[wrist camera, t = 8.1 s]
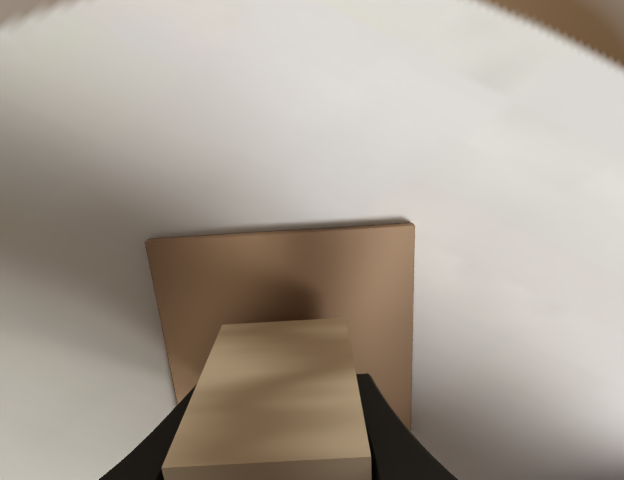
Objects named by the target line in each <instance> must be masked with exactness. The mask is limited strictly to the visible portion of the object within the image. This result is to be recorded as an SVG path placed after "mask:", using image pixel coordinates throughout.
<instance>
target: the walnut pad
mask: <svg viewBox="0 0 624 480" xmlns="http://www.w3.org/2000/svg"><path fill="white" fill-rule="evenodd" d="M145 244H146V249H147V254H148V259H149V264H150V269H151V274H152V279H153V284H154V289H155V294H156V299H157V304H158V309H159V314H160V319H161V324H162V329H163V334H164V339H165V344H166V349H167V354H168V359H169V364H170V369H171V374H172V379H173V384H174V389H175V394H176V399H177V404H179V403H180V402H181V401H182V399H183V398H184V397H185V396H186V395H187V394H188V393H189V392H190V391H191V390H192V389H193V387H194V386H195V385H196V384H197V383H198V381H199V378H200V376H201V373H202V371H203V369H204V366H205V364H206V362H207V359H208V357H209V355H210V352H211V350H212V348H213V345H214V343H215V340H216V338H217V336H218V333H219V331H220V329H221V326H222V325H226V324H243V323H260V322H278V321H295V320H313V319H330V318H346V323H347V328H348V334H349V339H350V345H351V350H352V355H353V361H354V366H355V372H356V374H365V373H368V374H369V375H371V376H372V378H373V380H374V382H375V384H376V386H377V387H378V389H379V390H380V392H381V394H382V395H383V397H384V398H385V400H386V401H387V402H388V404H389V405H390V407H391V408H392V409H393V411H394V412H395V413H396V415H397V416H398V417H399V419H400V420H401V421H402V422H403V424H404V425H405V426H406V427H407V429H408V430H409V431H410V432H411V388H412V341H413V294H414V248H415V225H414V224H413V223H404V224H387V225H371V226H354V227H338V228H321V229H304V230H288V231H271V232H254V233H238V234H221V235H204V236H188V237H171V238H155V239H148V240H147V241H146V242H145Z"/></svg>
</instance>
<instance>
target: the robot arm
mask: <svg viewBox="0 0 624 480" xmlns="http://www.w3.org/2000/svg"><path fill="white" fill-rule="evenodd" d="M356 377H357V382H358V388H359V393H360V399H361V404H362V409H363V415H364V420H365V426H366V431H367V437H368V442H369V447H370V453H371V472H372V480H458V479H457V478H456V477H454V476H453V475H452V474H451V473H450V472H449V471H448V470H447V469H446V468H444V467H443V466H442V465H441V464H440V463H439V462H438V461H437V460H436V459H435V458H434V457H433V456H432V455H431V454H430V453H429V452H428V451H427V450H426V449H425V448H424V447H423V446H422V445H421V444H420V442H419V441H418V440H417V439H416V438H415V437H414V436H413V434H412V433H411V432H410V431H409V430H408V429H407V427H406V426H405V425H404V424H403V422H402V421H401V420H400V419H399V417H398V416H397V415H396V413H395V412H394V411H393V409H392V408H391V407H390V405H389V404H388V402H387V401H386V400H385V398H384V397H383V395H382V394H381V392H380V390H379V389H378V387H377V386H376V384H375V382H374V380H373V378H372V376H371V375H369V374H368V373H365V374H356ZM196 385H197V384H196ZM196 385H195V386H194V387H193V389H192V390H191V391H190V392H189V393H188V394H187V395H186V396H185V397H184V398H183V399H182V401H181V402H180V403H179V404H178V405H177V406H176V407H175V408H174V409H173V410H172V412H171V413H170V414H169V415H168V416H167V417H166V418H165V419H164V420H163V421H162V422H161V423H160V424H159V425H158V426H157V427H156V428H155V429H154V431H153V432H151V433H150V434H149V435H148V436H147V437H146V438H145V439H144V440H143V441H142V442H141V443H140V444H139V445H138V446H137V447H136V448H135V449H134V450H133V451H132V452H131V453H130V454H129V455H127V456H126V457H125V458H124V459H123V460H122V461H121V462H119V463H118V464H117V465H116V466H115V467H113V468H112V469H111V470H110V471H109V472H107V473H106V474H105V475H104V476H103V477H101V478H100V479H99V480H164V477H163V473H162V465H163V463H164V461H165V458H166V456H167V454H168V451H169V449H170V446H171V444H172V442H173V439H174V437H175V435H176V432H177V430H178V428H179V425H180V423H181V421H182V418H183V416H184V413H185V411H186V409H187V406H188V404H189V402H190V399H191V397H192V395H193V392H194V390H195V388H196Z"/></svg>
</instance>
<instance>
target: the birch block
mask: <svg viewBox="0 0 624 480" xmlns="http://www.w3.org/2000/svg"><path fill="white" fill-rule="evenodd" d="M162 473H163V477H164V480H372V472H371V453H370V447H369V442H368V437H367V431H366V426H365V420H364V415H363V409H362V404H361V399H360V393H359V388H358V382H357V377H356V372H355V366H354V361H353V355H352V350H351V345H350V339H349V334H348V328H347V323H346V318H330V319H313V320H295V321H278V322H260V323H243V324H226V325H222V326H221V329H220V331H219V333H218V336H217V338H216V340H215V343H214V345H213V348H212V350H211V352H210V355H209V357H208V359H207V362H206V364H205V366H204V369H203V371H202V373H201V376H200V378H199V381H198V383H197V385H196V388H195V390H194V392H193V395H192V397H191V399H190V402H189V404H188V406H187V409H186V411H185V413H184V416H183V418H182V421H181V423H180V425H179V428H178V430H177V432H176V435H175V437H174V439H173V442H172V444H171V446H170V449H169V451H168V454H167V456H166V458H165V461H164V463H163V465H162Z"/></svg>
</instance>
